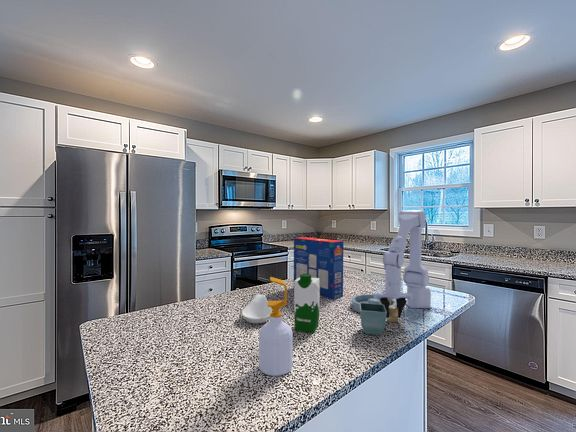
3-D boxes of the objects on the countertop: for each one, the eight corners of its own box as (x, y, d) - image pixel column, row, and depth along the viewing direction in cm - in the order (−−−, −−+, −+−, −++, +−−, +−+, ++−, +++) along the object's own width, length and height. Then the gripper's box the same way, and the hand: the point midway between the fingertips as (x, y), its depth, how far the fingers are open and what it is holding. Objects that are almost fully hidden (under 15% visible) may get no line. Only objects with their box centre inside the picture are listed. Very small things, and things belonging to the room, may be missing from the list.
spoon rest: (270, 327, 108) (271, 308, 108) (239, 327, 109) (239, 308, 108) (274, 306, 132) (274, 290, 132) (248, 306, 132) (248, 290, 132)
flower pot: (386, 338, 99) (387, 312, 99) (359, 336, 101) (360, 310, 100) (383, 328, 107) (384, 304, 107) (359, 326, 109) (359, 302, 109)
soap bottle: (259, 359, 84) (259, 274, 84) (290, 358, 85) (291, 274, 85) (258, 377, 75) (259, 282, 75) (294, 376, 76) (294, 281, 76)
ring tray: (389, 301, 140) (389, 293, 140) (405, 316, 120) (405, 307, 120) (347, 300, 140) (347, 293, 140) (356, 315, 120) (356, 307, 120)
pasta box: (343, 296, 147) (343, 241, 147) (332, 299, 142) (333, 242, 141) (303, 285, 168) (304, 237, 168) (293, 288, 163) (293, 237, 162)
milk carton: (291, 331, 104) (291, 275, 104) (299, 322, 113) (299, 270, 113) (315, 334, 101) (316, 277, 101) (321, 325, 110) (321, 272, 110)
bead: (396, 318, 117) (397, 306, 116) (399, 322, 113) (399, 310, 112) (386, 318, 117) (386, 305, 117) (388, 322, 113) (388, 309, 113)
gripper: (377, 284, 111) (377, 320, 111) (416, 285, 110) (415, 320, 111) (372, 280, 118) (371, 314, 118) (408, 280, 118) (408, 314, 118)
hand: (392, 317), depth 115 cm, fingers closed on bead, 4 cm apart
